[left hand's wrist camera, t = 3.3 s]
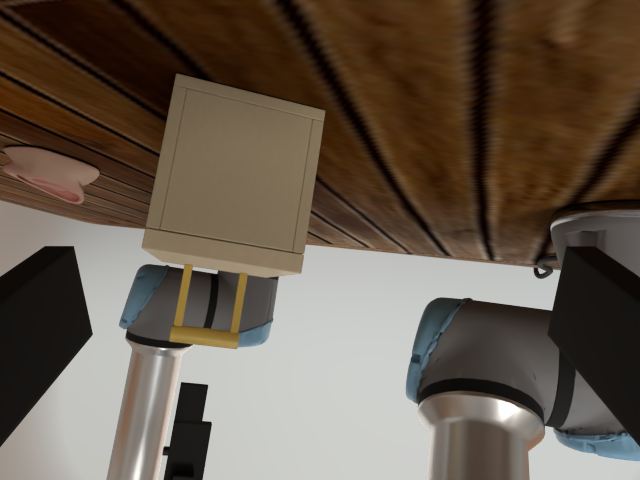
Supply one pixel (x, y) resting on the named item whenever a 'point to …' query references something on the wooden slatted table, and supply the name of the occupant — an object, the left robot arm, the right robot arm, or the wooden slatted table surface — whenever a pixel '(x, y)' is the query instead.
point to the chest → (236, 166)
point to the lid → (223, 259)
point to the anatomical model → (50, 172)
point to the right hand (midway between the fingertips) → (194, 399)
